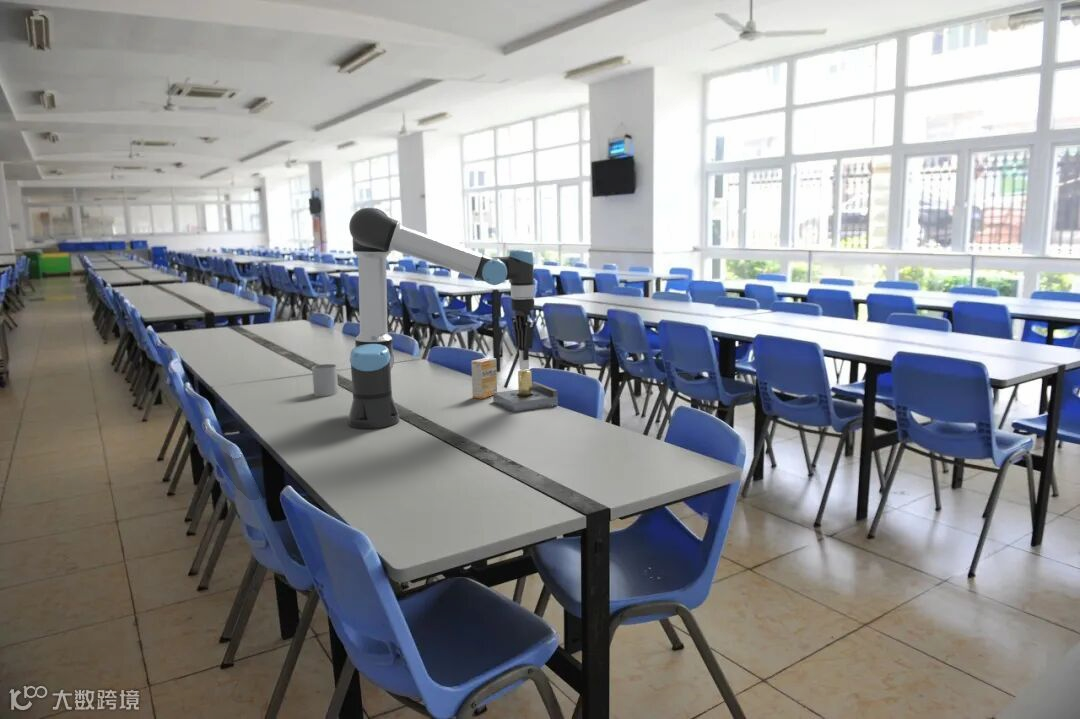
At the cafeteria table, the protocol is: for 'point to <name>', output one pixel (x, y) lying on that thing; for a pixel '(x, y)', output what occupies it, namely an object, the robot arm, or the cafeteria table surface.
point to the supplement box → (484, 377)
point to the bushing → (525, 383)
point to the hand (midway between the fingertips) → (524, 369)
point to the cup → (325, 380)
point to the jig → (527, 398)
